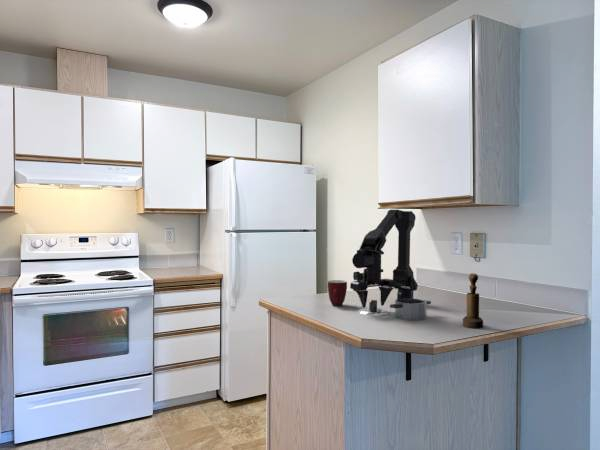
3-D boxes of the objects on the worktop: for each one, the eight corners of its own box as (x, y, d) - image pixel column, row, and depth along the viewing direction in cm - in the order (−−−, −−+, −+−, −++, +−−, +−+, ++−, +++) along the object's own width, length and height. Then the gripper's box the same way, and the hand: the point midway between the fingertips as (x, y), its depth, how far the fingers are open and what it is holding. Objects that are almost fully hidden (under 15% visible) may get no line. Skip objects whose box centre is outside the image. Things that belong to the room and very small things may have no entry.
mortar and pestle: (459, 323, 150) (459, 272, 150) (477, 323, 150) (477, 272, 150) (468, 328, 143) (468, 274, 143) (486, 328, 144) (487, 274, 143)
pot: (417, 311, 169) (417, 296, 169) (439, 317, 159) (439, 301, 159) (381, 316, 159) (382, 300, 159) (402, 323, 150) (403, 305, 150)
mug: (347, 308, 173) (347, 284, 173) (327, 308, 174) (327, 283, 174) (346, 303, 184) (346, 280, 184) (327, 303, 185) (327, 279, 184)
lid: (374, 309, 175) (374, 296, 175) (394, 314, 165) (394, 301, 165) (352, 312, 169) (352, 299, 169) (371, 318, 159) (371, 304, 159)
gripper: (378, 263, 178) (377, 300, 179) (341, 265, 169) (341, 305, 169) (397, 266, 169) (396, 305, 169) (359, 268, 159) (359, 310, 160)
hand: (373, 306), depth 167 cm, fingers open, 9 cm apart
